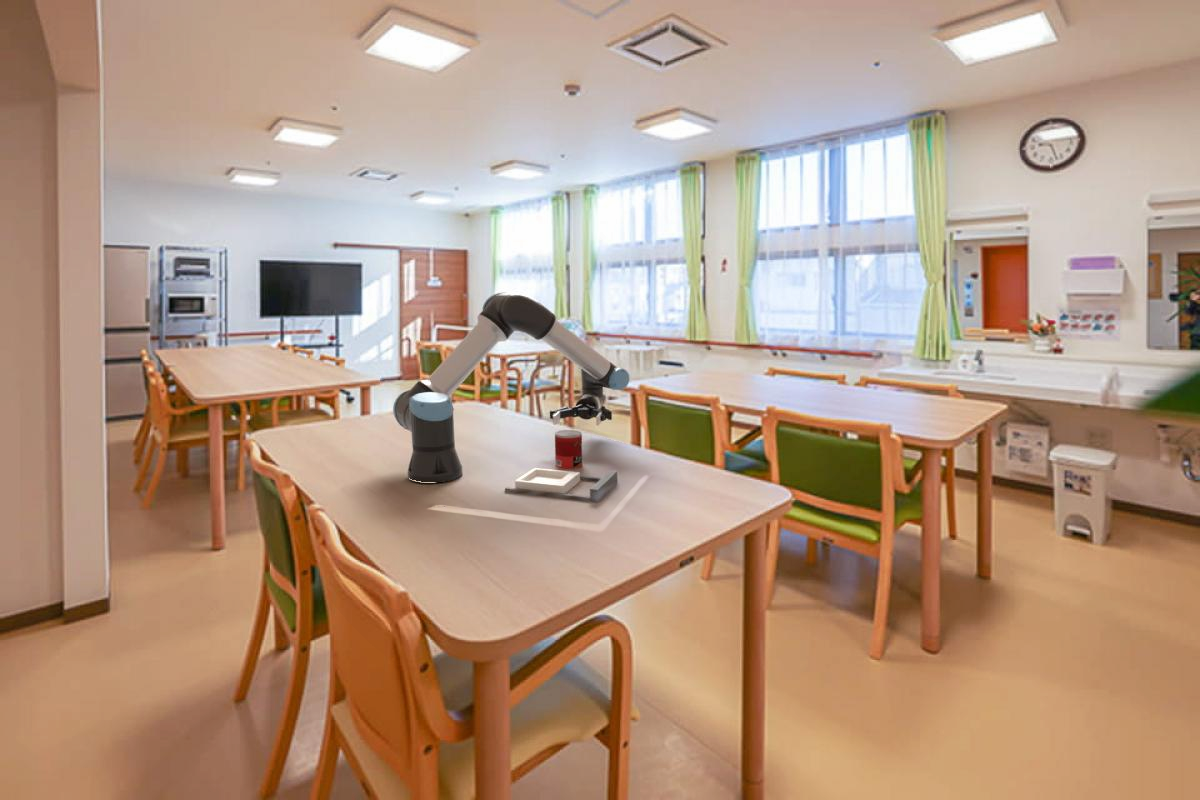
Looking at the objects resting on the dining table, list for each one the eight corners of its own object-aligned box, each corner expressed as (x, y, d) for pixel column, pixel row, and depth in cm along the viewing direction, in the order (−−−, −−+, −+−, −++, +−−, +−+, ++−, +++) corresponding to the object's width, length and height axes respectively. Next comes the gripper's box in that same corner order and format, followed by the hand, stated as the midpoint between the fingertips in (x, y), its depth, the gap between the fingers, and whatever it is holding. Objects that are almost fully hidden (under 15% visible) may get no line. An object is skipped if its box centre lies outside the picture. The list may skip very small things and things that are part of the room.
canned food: (579, 473, 176) (578, 436, 174) (552, 472, 178) (551, 435, 176) (584, 465, 184) (584, 430, 181) (559, 464, 185) (558, 429, 183)
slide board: (505, 495, 158) (504, 479, 157) (531, 477, 173) (531, 462, 172) (603, 507, 149) (603, 490, 148) (622, 486, 164) (622, 471, 163)
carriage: (515, 490, 159) (514, 480, 158) (534, 476, 170) (534, 467, 169) (563, 495, 154) (563, 486, 154) (580, 481, 166) (579, 472, 165)
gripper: (624, 417, 207) (616, 433, 187) (552, 416, 211) (537, 431, 191) (623, 396, 206) (615, 409, 185) (552, 395, 210) (536, 408, 189)
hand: (575, 420), depth 188 cm, fingers open, 13 cm apart
